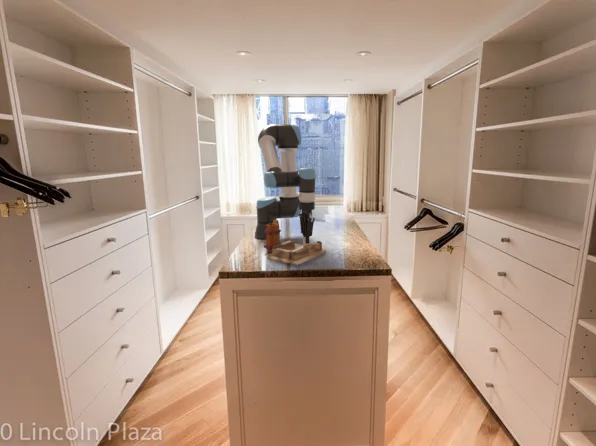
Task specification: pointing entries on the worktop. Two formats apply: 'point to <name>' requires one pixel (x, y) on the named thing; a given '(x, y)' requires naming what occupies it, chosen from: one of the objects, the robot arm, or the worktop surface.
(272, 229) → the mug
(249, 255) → the worktop surface
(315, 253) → the seat
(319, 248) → the leg
